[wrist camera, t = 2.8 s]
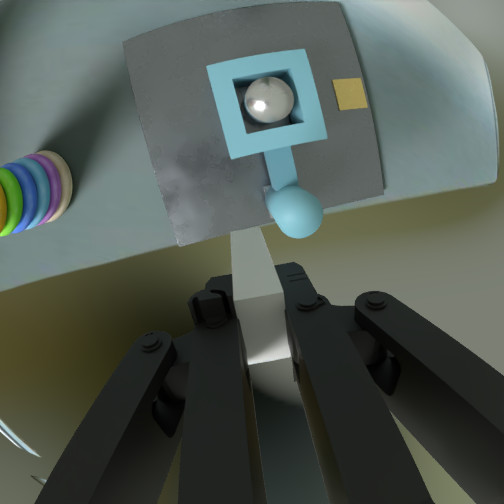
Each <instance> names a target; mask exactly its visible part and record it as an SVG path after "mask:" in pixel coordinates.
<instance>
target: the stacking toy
mask: <svg viewBox="0 0 504 504" xmlns="http://www.w3.org/2000/svg"><path fill="white" fill-rule="evenodd" d="M72 188H73V184H72V176H71V172H70V169H69V167H68V165H67V163H66V162H65V161H64V159H63V158H62V157H61V156H59V155H58V154H57V153H54V152H52V151H39V152H37V153H34V154H30V155H27V156H25V157H23V158H20V159H18V160H15V161H14V162H12V163H8V164H5V165H3V166H2V167H0V236H6V235H8V234H10V233H19V232H21V231H23V230H25V229H30V228H33V227H35V226H37V225H41V224H44V223H47V222H51V221H54V220H56V219H57V218H59V217H60V216H61V215H62V214H63V213H64V212H65V210H66V209H67V207H68V205H69V202H70V199H71V195H72Z"/></svg>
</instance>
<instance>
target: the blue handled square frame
mask: <svg viewBox="0 0 504 504" xmlns="http://www.w3.org/2000/svg"><path fill="white" fill-rule="evenodd" d="M206 67H207V72H208V76H209V80H210V84H211V87H212V91H213V95H214V99H215V102H216V106H217V110H218V114H219V117H220V121H221V125H222V129H223V132H224V136H225V140H226V144H227V147H228V151H229V155H230V158H231V159H235V158H239V157H243V156H247V155H251V154H255V153H260V152H264V156H265V160H266V164H267V168H268V173H269V177H270V181H271V186H270V187H269V189H268V190H267V192H266V196H265V203H266V206H267V208H268V210H269V212H270V213H271V215H272V216H273V218H274V219H275V221H276V223H277V224H278V226H279V227H280V229H281V230H282V231H283V232H284V233H285V234H286V235H288V236H290V237H293V238H304V237H307V236H309V235H311V234H313V233H314V232H315V231H316V230H317V229H318V228H319V226H320V224H321V222H322V218H323V209H322V206H321V203H320V202H319V200H318V199H317V198H316V197H315V196H314V195H312V194H311V193H309V192H307V191H306V190H304V189H303V188H301V187H299V183H298V178H297V173H296V169H295V164H294V160H293V155H292V151H291V145H296V144H301V143H306V142H312V141H317V140H323V139H328V137H327V132H326V128H325V123H324V119H323V114H322V110H321V106H320V102H319V98H318V94H317V90H316V86H315V83H314V79H313V75H312V72H311V68H310V65H309V61H308V58H307V54H306V51H305V49H297V50H288V51H280V52H273V53H266V54H260V55H254V56H248V57H243V58H238V59H233V60H229V61H224V62H220V63H216V64H212V65H208V66H206ZM263 77H275V78H278V79H280V80H282V81H284V82H285V83H286V84H287V85H288V86H289V87H290V89H291V90H292V92H293V96H294V104H293V108H292V110H291V112H290V113H289V115H290V119H291V123H292V125H288V126H283V127H278V128H273V129H268V130H264V131H259V132H255V133H250V134H246V130H245V126H244V122H243V118H242V115H241V111H240V107H239V103H238V99H237V96H236V92H235V88H237V87H241V86H246V85H251V84H252V83H253V82H254V81H256V80H257V79H260V78H263Z"/></svg>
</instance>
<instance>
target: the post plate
mask: <svg viewBox="0 0 504 504" xmlns="http://www.w3.org/2000/svg"><path fill="white" fill-rule="evenodd" d="M123 48H124V53H125V58H126V63H127V67H128V72H129V76H130V81H131V85H132V90H133V94H134V98H135V102H136V106H137V110H138V114H139V118H140V122H141V126H142V129H143V133H144V137H145V140H146V144H147V147H148V151H149V154H150V158H151V161H152V165H153V168H154V171H155V175H156V178H157V181H158V185H159V188H160V191H161V194H162V197H163V200H164V203H165V206H166V209H167V212H168V215H169V218H170V221H171V224H172V227H173V230H174V233H175V236H176V239H177V242H178V244H179V247H181V246H184V245H188V244H192V243H195V242H199V241H202V240H206V239H210V238H213V237H217V236H221V235H224V234H228V233H230V232H232V231H237V230H243V229H247V228H250V227H254V226H258V225H262V224H266V223H270V222H273V221H275V219H274V218H273V216H272V215H271V213H270V212H269V210H268V208H267V206H266V203H265V196H266V192H267V190H268V189H269V187H270V186H271V181H270V177H269V173H268V168H267V164H266V160H265V156H264V152H260V153H255V154H251V155H247V156H243V157H239V158H235V159H231V158H230V155H229V151H228V147H227V144H226V140H225V136H224V132H223V129H222V125H221V121H220V117H219V114H218V110H217V106H216V102H215V99H214V95H213V91H212V87H211V84H210V80H209V76H208V72H207V67H206V66H208V65H212V64H216V63H220V62H224V61H229V60H233V59H238V58H243V57H248V56H254V55H260V54H266V53H273V52H280V51H288V50H297V49H305V51H306V54H307V58H308V61H309V65H310V68H311V72H312V75H313V79H314V83H315V86H316V90H317V94H318V98H319V102H320V106H321V110H322V114H323V119H324V123H325V128H326V132H327V137H328V139H323V140H317V141H312V142H306V143H301V144H296V145H291V151H292V155H293V160H294V164H295V169H296V173H297V178H298V183H299V187H301V188H303V189H304V190H306V191H307V192H309V193H311V194H312V195H314V196H315V197H316V198H317V199H318V200H319V202H320V203H321V206H322V209H325V208H329V207H333V206H337V205H341V204H346V203H350V202H354V201H358V200H362V199H367V198H371V197H375V196H380V195H384V189H383V180H382V172H381V165H380V158H379V151H378V145H377V139H376V134H375V128H374V123H373V118H372V113H371V108H370V104H369V100H368V95H367V91H366V87H365V83H364V79H363V75H362V72H361V68H360V65H359V61H358V58H357V54H356V51H355V48H354V45H353V42H352V39H351V36H350V33H349V30H348V27H347V24H346V21H345V19H344V16H343V13H342V11H341V8H340V6H339V3H338V2H294V3H279V4H268V5H259V6H251V7H245V8H238V9H232V10H227V11H222V12H217V13H212V14H208V15H204V16H199V17H196V18H192V19H188V20H184V21H181V22H177V23H174V24H171V25H168V26H165V27H161V28H159V29H156V30H153V31H150V32H147V33H144V34H142V35H139V36H137V37H134V38H132V39H129V40H127V41H124V42H123ZM235 92H236V96H237V99H238V103H239V107H240V111H241V115H242V118H243V122H244V126H245V130H246V134H250V133H255V132H259V131H264V130H268V129H273V128H278V127H283V126H288V125H292V123H291V119H290V115H289V113H290V112H291V110H292V108H293V104H294V96H293V92H292V90H291V89H290V87H289V86H288V85H287V84H286V83H285V82H284V81H282V80H280V79H278V78H275V77H263V78H260V79H257V80H256V81H254V82H253V83H252V84H251V85H246V86H241V87H237V88H235Z"/></svg>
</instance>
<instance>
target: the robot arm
mask: <svg viewBox="0 0 504 504" xmlns="http://www.w3.org/2000/svg"><path fill="white" fill-rule="evenodd" d="M230 233H231V255H232V256H231V258H232V274H229V275H223V276H217V277H212V278H210V280H209V281H208V282H207V283H206V286H205V289H204V290H201V291H199V292H197V293H195V294H194V295H193V296H191V297H190V299H189V301H188V302H187V303H188V306H189V309H190V312H191V315H192V318H193V321H194V324H195V325H194V330H193V331H191V332H190V333H188V334H186V335H184V336H181V337H178V338H175V339H172V338H171V336H170V335H169V334H168V333H166V332H163V331H152V332H149V333H146V334H144V335H143V336H141V337H139V338H138V339H137V340H136V341H135V342H134V343H133V345H132V346H131V347H130V349H129V350H128V352H127V353H126V355H125V356H124V358H123V359H122V361H121V362H120V364H119V365H118V367H117V368H116V370H115V371H114V373H113V374H112V376H111V377H110V379H109V380H108V382H107V383H106V385H105V386H104V388H103V389H102V391H101V392H100V394H99V395H98V397H97V398H96V400H95V401H94V403H93V405H92V406H91V408H90V409H89V411H88V412H87V414H86V416H85V417H84V419H83V421H82V422H81V424H80V425H79V427H78V429H77V430H76V432H75V433H74V435H73V437H72V438H71V440H70V442H69V443H68V445H67V447H66V448H65V450H64V452H63V453H62V455H61V457H60V459H59V460H58V462H57V464H56V465H55V467H54V469H53V471H52V472H51V474H50V476H49V478H48V480H47V481H46V483H45V485H44V487H43V489H42V490H41V492H40V494H39V496H38V498H37V500H36V502H35V504H157V502H158V499H159V496H160V494H161V491H162V489H163V486H164V483H165V480H166V478H167V475H168V473H169V470H170V467H171V465H172V462H173V459H174V456H175V454H176V451H177V448H178V446H179V443H180V440H181V438H182V445H181V458H180V474H179V492H178V504H267V499H266V492H265V485H264V477H263V470H262V463H261V456H260V448H259V440H258V432H257V424H256V417H255V408H254V400H253V392H252V384H251V375H250V371H249V368H248V364H255V363H260V362H267V361H272V360H277V359H283V358H288V357H291V356H290V352H291V355H292V363H293V374H294V381H297V384H298V388H299V391H300V395H301V399H302V402H303V406H304V409H305V413H306V417H307V421H308V424H309V428H310V432H311V436H312V439H313V443H314V447H315V450H316V454H317V457H318V462H319V465H320V469H321V473H322V476H323V480H324V484H325V488H326V491H327V496H328V499H329V503H330V504H435V503H434V502H433V500H432V499H431V497H430V494H429V492H428V490H427V488H426V485H425V483H424V481H423V479H422V476H421V474H420V472H419V470H418V468H417V466H416V464H415V461H414V459H413V457H412V455H411V453H410V451H409V449H408V447H407V445H406V443H405V441H404V439H403V437H402V435H401V433H400V431H399V429H398V427H397V425H396V423H395V421H394V419H393V417H392V415H391V413H390V411H391V412H392V413H393V415H395V417H396V418H397V419H398V420H399V421H400V422H401V423H402V424H403V425H404V426H405V428H406V429H407V430H408V431H409V432H410V433H411V434H412V435H413V436H414V437H415V438H416V439H417V441H419V443H420V444H421V445H422V446H423V447H424V448H425V449H426V450H427V451H428V452H429V453H430V455H432V457H433V458H435V460H436V461H437V462H438V463H439V464H440V465H441V466H442V467H443V468H444V470H445V471H446V472H447V473H448V474H449V475H450V476H451V477H452V478H453V479H454V480H455V481H456V482H457V483H458V485H459V486H460V487H461V488H462V489H463V490H464V491H465V492H466V493H467V494H468V495H469V496H470V497H471V498H472V499H473V501H475V503H476V504H504V376H503V375H502V374H501V373H499V372H498V371H497V370H495V369H494V368H492V367H491V366H490V365H489V364H487V363H486V362H485V361H483V360H482V359H481V358H480V357H478V356H477V355H475V354H474V353H473V352H471V351H470V350H469V349H467V348H466V347H464V346H463V345H462V344H460V343H459V342H458V341H456V340H455V339H453V338H452V337H450V336H449V335H448V334H447V333H445V332H444V331H442V330H441V329H440V328H438V327H437V326H435V325H434V324H432V323H431V322H430V321H428V320H427V319H425V318H424V317H422V316H420V315H419V314H418V313H416V312H415V311H414V310H412V309H411V308H409V307H408V306H406V305H405V304H403V303H402V302H400V301H399V300H397V299H396V298H394V297H393V296H391V295H389V294H387V293H385V292H380V291H369V292H366V293H363V294H361V295H359V296H358V297H357V298H356V300H355V306H335V305H331V304H330V302H329V301H328V299H327V298H326V297H325V296H322V295H320V294H317V292H316V290H315V289H314V287H313V285H312V283H311V281H310V280H309V279H308V276H307V274H306V273H305V271H304V269H303V267H302V266H300V265H299V264H297V263H295V262H291V263H286V264H281V265H275V266H274V264H273V262H272V259H271V256H270V253H269V251H268V248H267V245H266V243H265V240H264V238H263V235H262V232H261V229H260V227H255V228H249V229H243V230H237V231H232V232H230ZM389 410H390V411H389Z"/></svg>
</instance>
